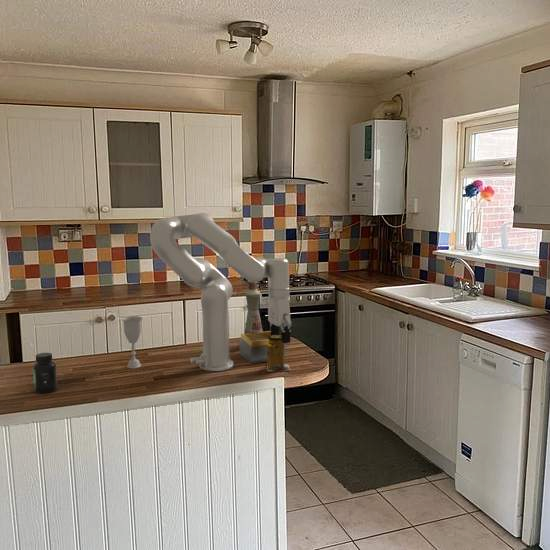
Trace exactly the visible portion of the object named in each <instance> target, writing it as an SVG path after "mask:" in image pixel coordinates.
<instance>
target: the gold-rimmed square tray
mask: <svg viewBox="0 0 550 550" xmlns="http://www.w3.org/2000/svg"><path fill="white" fill-rule="evenodd" d="M269 336H271V330H267V331H263V332H256V333H247V334H244V333H240V338H239V339H238V340H239V342H238V343H239V345H238V347H239V352H238V353H240V355H241V357H243V358H244V357H245V358H244V359H245V360H246V361H248V362H249V363H250V362H251V363H250V364H253V363H252V362H255V363H260V362H259V361H262V362H268V361H267V360H268V355H267V354H268V343H269V342H268V341H269ZM283 344H284V360H285V359H286V349H287V348H286V343H283Z"/></svg>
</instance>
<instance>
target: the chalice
mask: <svg viewBox="0 0 550 550" xmlns="http://www.w3.org/2000/svg"><path fill="white" fill-rule="evenodd" d="M121 320H122V322H123V332H124V336H125V338H126V339H127V341H128V343H130V344H131V348H130V349H131V353H130V354H131V359H129V361H128V363H127V365H126V367H127V369H137V368H141V366H142V364H141V362H140V360H139V359H138V358H136V354H137V353H136V351H135V350H136V349H137V348H136V347H135V345H136V343H137V342H138V341H139V339H140V336H141V334H142V320H143V317H141V316H137V315H135V316H132V315H131V316H130V315H129V316H125V317H122V319H121Z"/></svg>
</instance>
